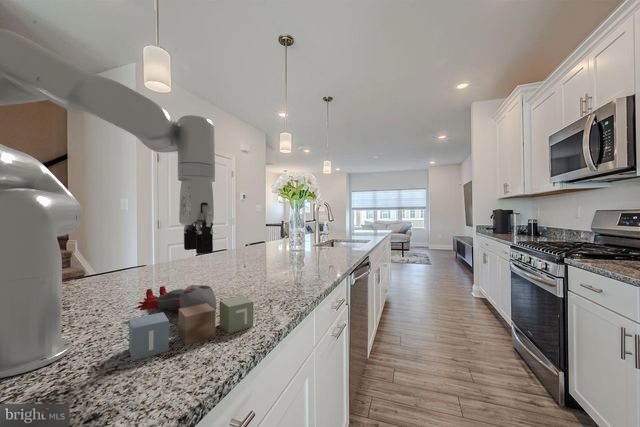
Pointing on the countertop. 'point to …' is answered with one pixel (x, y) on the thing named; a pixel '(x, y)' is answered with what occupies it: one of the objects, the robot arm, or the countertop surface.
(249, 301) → the olive block
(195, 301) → the toy
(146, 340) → the slate block
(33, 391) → the countertop surface
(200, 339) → the walnut block
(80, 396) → the countertop surface
